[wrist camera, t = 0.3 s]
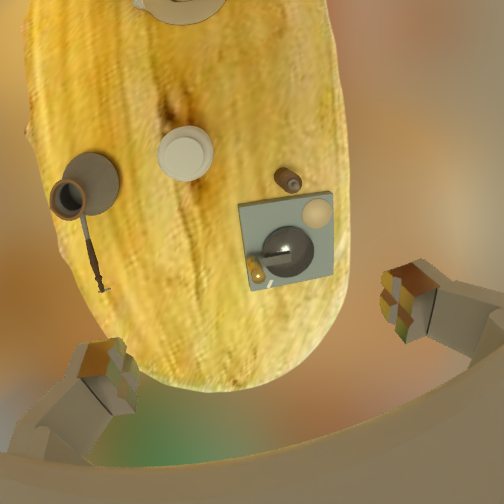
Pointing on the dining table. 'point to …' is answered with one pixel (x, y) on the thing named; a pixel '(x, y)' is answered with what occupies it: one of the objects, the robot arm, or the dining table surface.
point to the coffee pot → (86, 195)
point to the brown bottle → (288, 180)
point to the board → (297, 215)
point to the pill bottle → (185, 153)
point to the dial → (282, 254)
